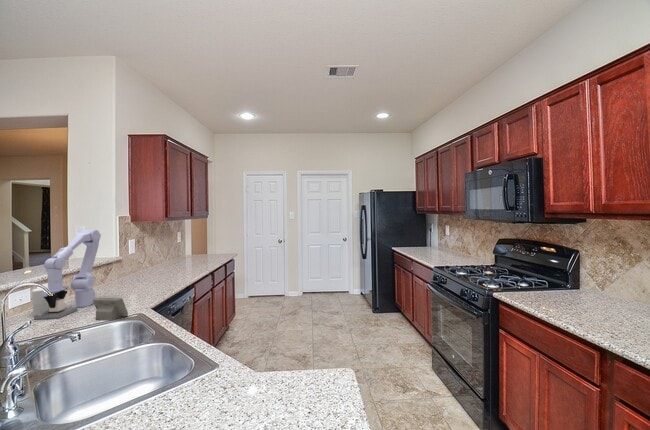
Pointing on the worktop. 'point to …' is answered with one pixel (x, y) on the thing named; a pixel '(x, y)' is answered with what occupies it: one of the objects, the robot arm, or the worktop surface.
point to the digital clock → (109, 308)
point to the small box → (39, 302)
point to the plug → (58, 305)
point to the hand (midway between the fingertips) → (56, 306)
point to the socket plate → (55, 314)
